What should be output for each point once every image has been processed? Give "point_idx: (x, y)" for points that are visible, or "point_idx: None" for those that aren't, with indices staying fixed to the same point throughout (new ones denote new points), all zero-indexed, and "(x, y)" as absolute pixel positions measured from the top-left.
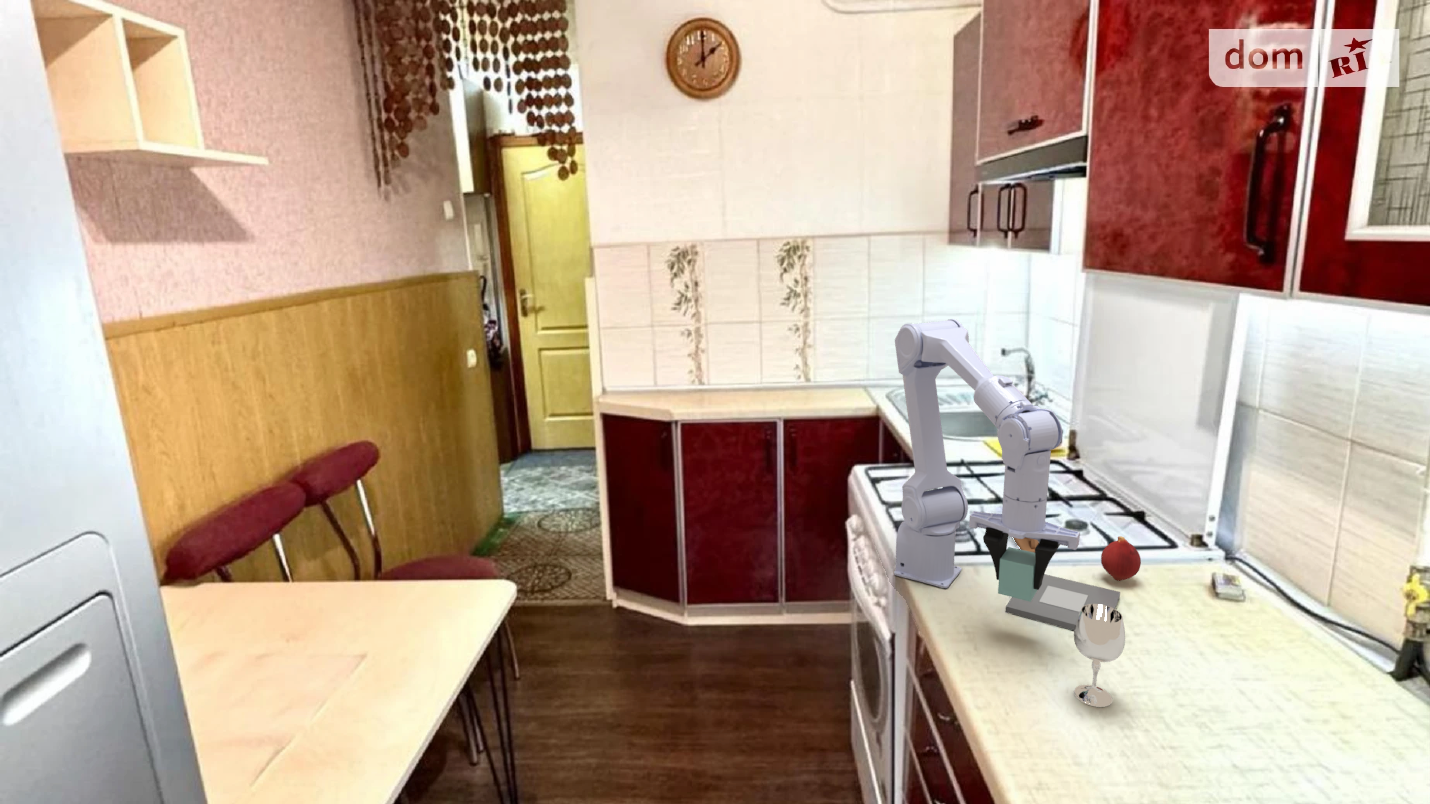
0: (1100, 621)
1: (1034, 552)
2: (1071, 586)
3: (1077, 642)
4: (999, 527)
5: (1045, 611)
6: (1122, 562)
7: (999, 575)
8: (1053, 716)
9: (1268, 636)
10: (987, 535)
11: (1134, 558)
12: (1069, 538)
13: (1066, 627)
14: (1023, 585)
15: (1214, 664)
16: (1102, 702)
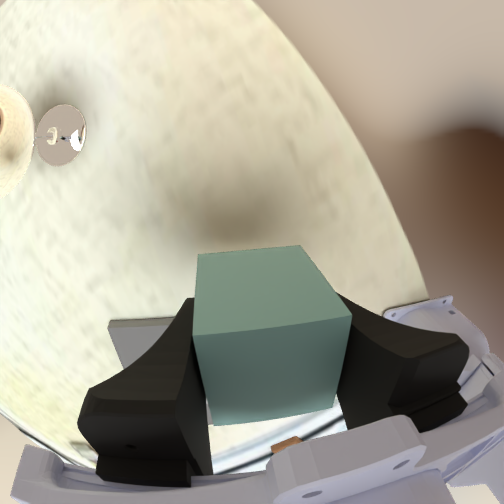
0: None
1: (284, 445)
2: (209, 413)
3: (14, 92)
4: (456, 439)
5: None
6: None
7: (321, 274)
8: (100, 35)
9: (20, 399)
10: (452, 377)
11: None
12: (35, 494)
13: (168, 318)
14: (226, 276)
15: (7, 329)
16: (43, 124)
